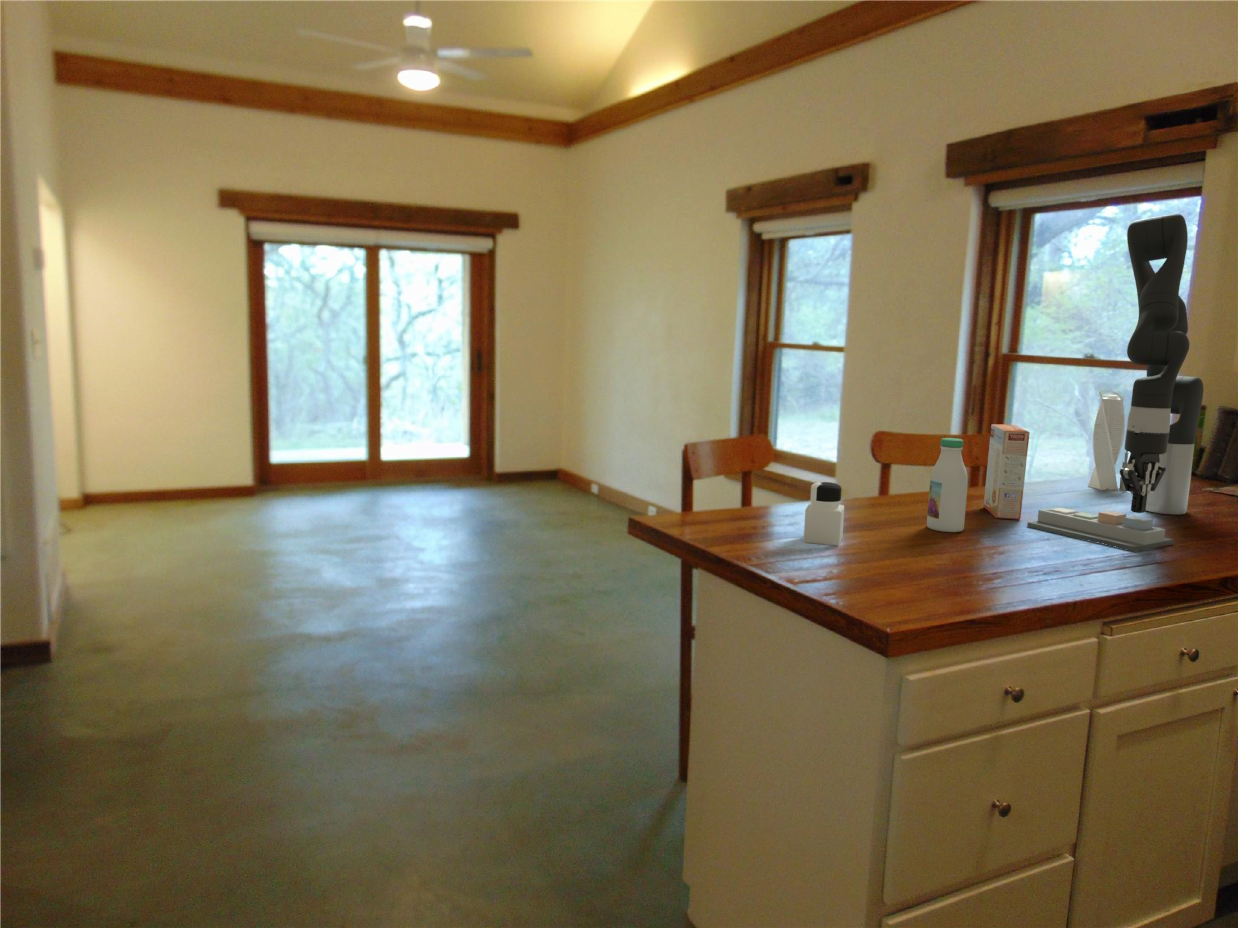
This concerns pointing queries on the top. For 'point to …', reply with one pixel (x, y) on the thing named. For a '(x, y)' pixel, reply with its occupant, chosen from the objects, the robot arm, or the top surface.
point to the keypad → (1100, 531)
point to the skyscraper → (1108, 443)
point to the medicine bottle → (824, 515)
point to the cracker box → (1006, 471)
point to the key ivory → (1063, 511)
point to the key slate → (1138, 523)
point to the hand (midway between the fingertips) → (1137, 512)
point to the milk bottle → (948, 489)
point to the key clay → (1111, 517)
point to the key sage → (1086, 516)
